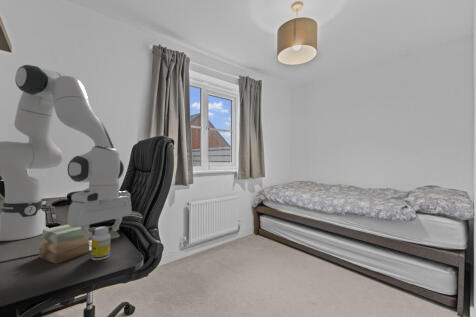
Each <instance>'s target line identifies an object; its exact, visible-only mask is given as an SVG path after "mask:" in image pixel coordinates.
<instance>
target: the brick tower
mask: <svg viewBox="0 0 476 317" xmlns="http://www.w3.org/2000/svg"><path fill="white" fill-rule="evenodd" d="M87 229H88V230H89V228H87ZM89 241H90V238H88V239H85V238H84V232H83V231H82V229H81V227H71V226H70V225H69V224H68V223H67V224H64V225H59V226H54V227H50V228H48V229H44V230H43V233H42V234H41V239H40V247H39V248H38V250H39V252H38V258H40V259H42V260H45V261H47V262H51V263H53V264H60V263H63V262H65V261H69V260H71V259H74V258H77V257H80V256H83V255H86V254H90V251H89Z"/></svg>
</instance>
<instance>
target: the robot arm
mask: <svg viewBox="0 0 476 317" xmlns="http://www.w3.org/2000/svg"><path fill="white" fill-rule="evenodd" d="M14 77H15V85H16V87H17V88H18V89H19V90H20V91H21V92H22V93H21V95H20V98H19V100H18V105H17V110H16V114H15V120H14V123H13V124H14V127H15V129H16V130H17V131H18V132H19V133H21V134H23V135H25V136H27V137H28V142H21V141H20V142H19V141H18V142H17V141H8V140H7V141H0V177H1V179H2V181H3V184H4V202H3V203H2V205H1V212H0V242H3V241H4V242H5V241H7V242H8V241H17V240H25V239H29V238H33V237H38V236H40V235H42V233H43V230H44V229H48V228H49V227H48V226H46V212H45V211H43V210H42V208H43V204H44V203H43V200H42V194H43V193H42V192H43V191H42V190H43V189H42V188H43V184H42V182H41V181H40V180H39V179H38V178H35V177H32V176H30V175H29V174H28V172H27V169H29V170H30V169H31V170H32V169H35V170H37V169H50V168H51V169H52V168H57V167H58V166H59V165H61V163H62V162H63V159H64V154H63V151H62V150H61V148H59V147H58V146H57V145H56V144H55V143H54V141H53V139H52V134H51V131H52V124H53V117H54V112H55V115H56V116H57V118H58V119H59V121H60V122H61V123H62V124H64V125H65V126H67V127H69V128H71V129H72V130H75V131H78V132H80V133H83V135H85V136H87V137H89V138H90V139H91V140H92V141H93V144H94V145H93V146H92V148H91V149H90V150H89V151H87V152H86V153H84V154H81V155H76V156H74V157H73V158H71V160H70V161H69V162H68V163H67V164H68V165H67V174H68V176H69V177H70V179H71V180H72V181H74V182H77V183H88V188H86V189H82V190H80V191H78V192H75V193H73V194H71V201H72V202H71V203H70V205H69V207H68V212H67V224H69V225H70V226H71V227H81V229H82V231H83V232H84V238H85V239H88V238H89V239H92V237H93V232H92V231H89V229H90V225H92V224H98V223H102V222H106V221H110V220H111V221H112V220H115V221H114V224H113V225H111V231H113V232H116V231H119V229H120V225H121V223H122V221H123V217H128V216H130V215H131V213H132V201H131V193H130V192H129V191H128V190H123V191H120V181H119V179H120V178H121V177H122V176H123V175H124V172H125V171H124V170H125V167H124V166H125V165H124V164H123V161H122V159H121V157H120V152H119V150H118V149H116V148H115V147H114V144H113V142H112V140H111V137H110V135H109V133H108V130H107V129H106V127H105V125H104V123H103V122H102V121H101V120H100V119H99V118H98V116H97V115H96V113H95V111H94V110H93V108H92V106H91V102H90V99H89V96H88V94H87V91H86V87H85V85H84V84H83V83H82V81H81V80H79V79H78V78H76V77H74V76H71V75H65V74H63V73H60V72H55V71H51V70H48V69H45V68H40V67H39V66H35V65H31V64H23V65H21V66H20V67H18V68H17V70H16V73H15V76H14ZM87 228H88V229H87Z"/></svg>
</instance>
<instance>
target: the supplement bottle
mask: <svg viewBox="0 0 476 317" xmlns="http://www.w3.org/2000/svg"><path fill="white" fill-rule="evenodd" d="M91 240H92V249H91V251H90V252H91V254H90V258H91V260H93V261H102V260H105V259H108V258H109V257H110V254H111V234H110V233H109V227H108V226H99V227H96V228H94V235H92V238H91Z"/></svg>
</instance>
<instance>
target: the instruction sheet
mask: <svg viewBox="0 0 476 317" xmlns="http://www.w3.org/2000/svg"><path fill="white" fill-rule="evenodd" d="M91 249H92V239H89V252H91Z"/></svg>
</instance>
